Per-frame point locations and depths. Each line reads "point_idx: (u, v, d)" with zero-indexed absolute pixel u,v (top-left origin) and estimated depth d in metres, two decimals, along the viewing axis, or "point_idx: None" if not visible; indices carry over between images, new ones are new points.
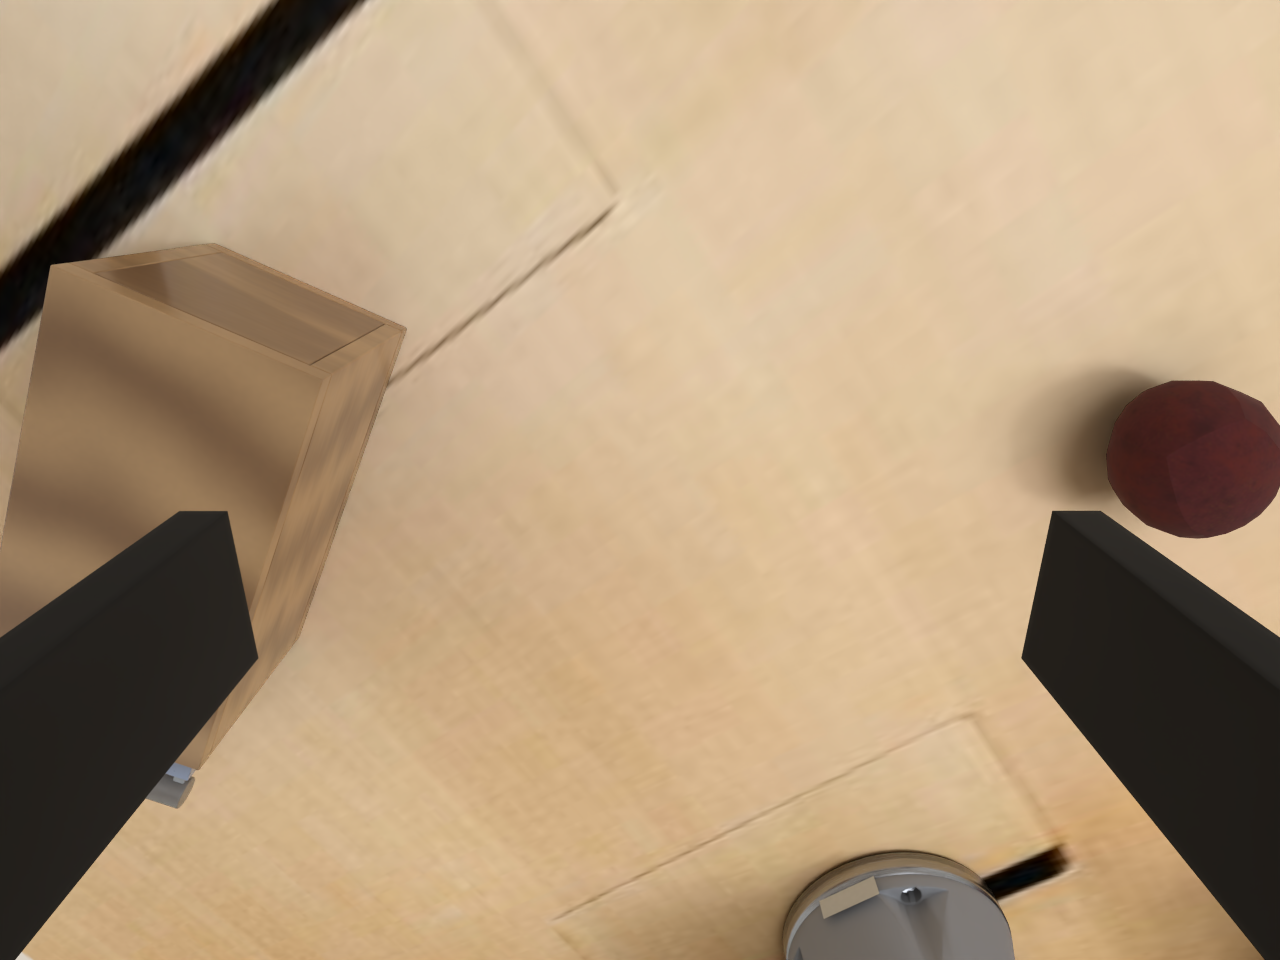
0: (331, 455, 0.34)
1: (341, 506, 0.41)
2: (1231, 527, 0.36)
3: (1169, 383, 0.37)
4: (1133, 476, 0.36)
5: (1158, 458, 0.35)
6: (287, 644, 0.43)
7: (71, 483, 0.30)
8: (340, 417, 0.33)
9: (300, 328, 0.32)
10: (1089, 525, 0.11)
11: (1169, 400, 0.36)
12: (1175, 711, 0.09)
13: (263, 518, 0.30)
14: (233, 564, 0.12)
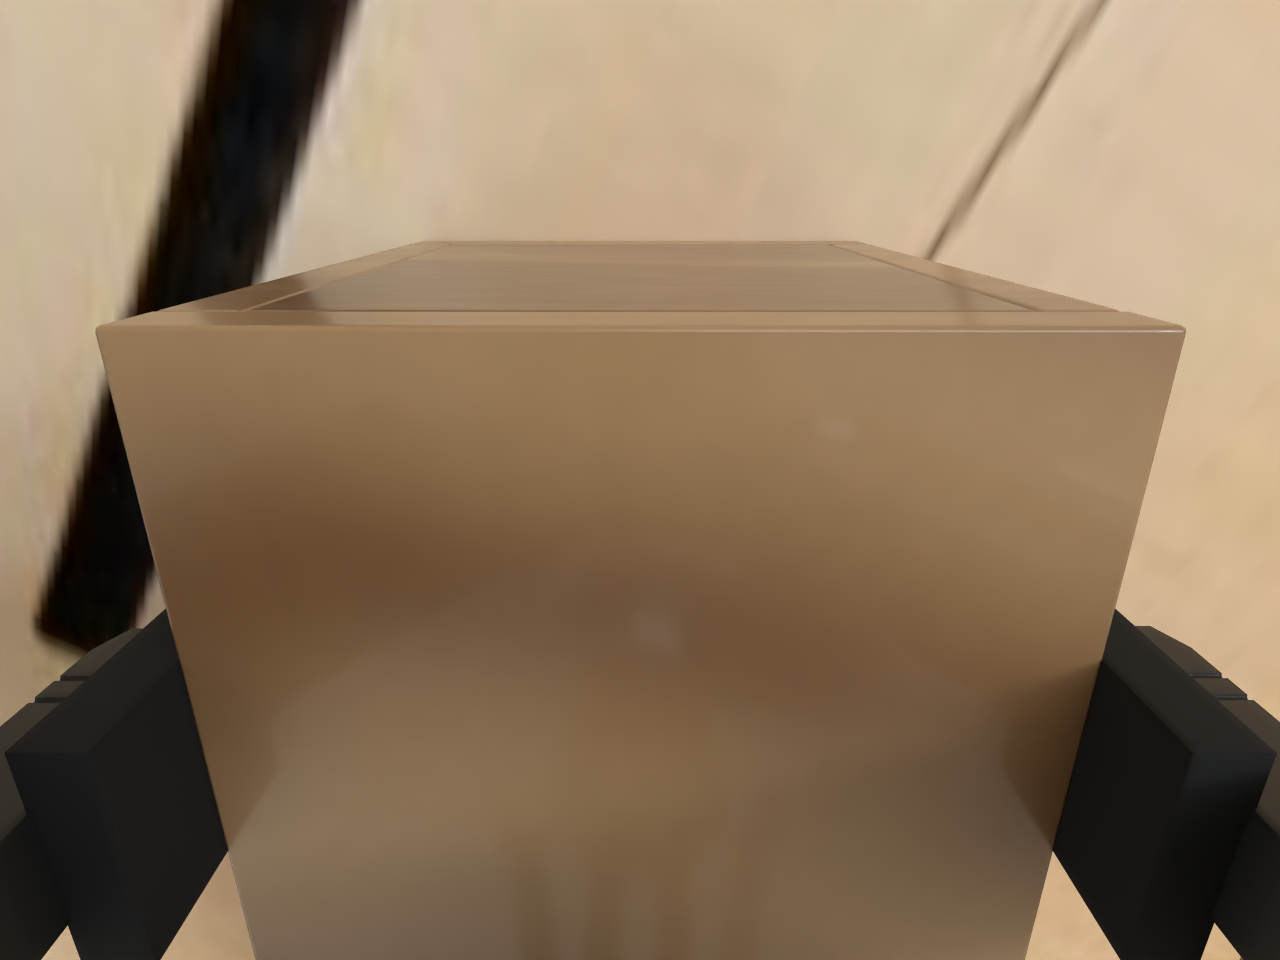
0: None
1: None
2: None
3: None
4: None
5: None
6: None
7: None
8: None
9: (795, 273, 0.11)
10: None
11: None
12: None
13: (1005, 864, 0.09)
14: None
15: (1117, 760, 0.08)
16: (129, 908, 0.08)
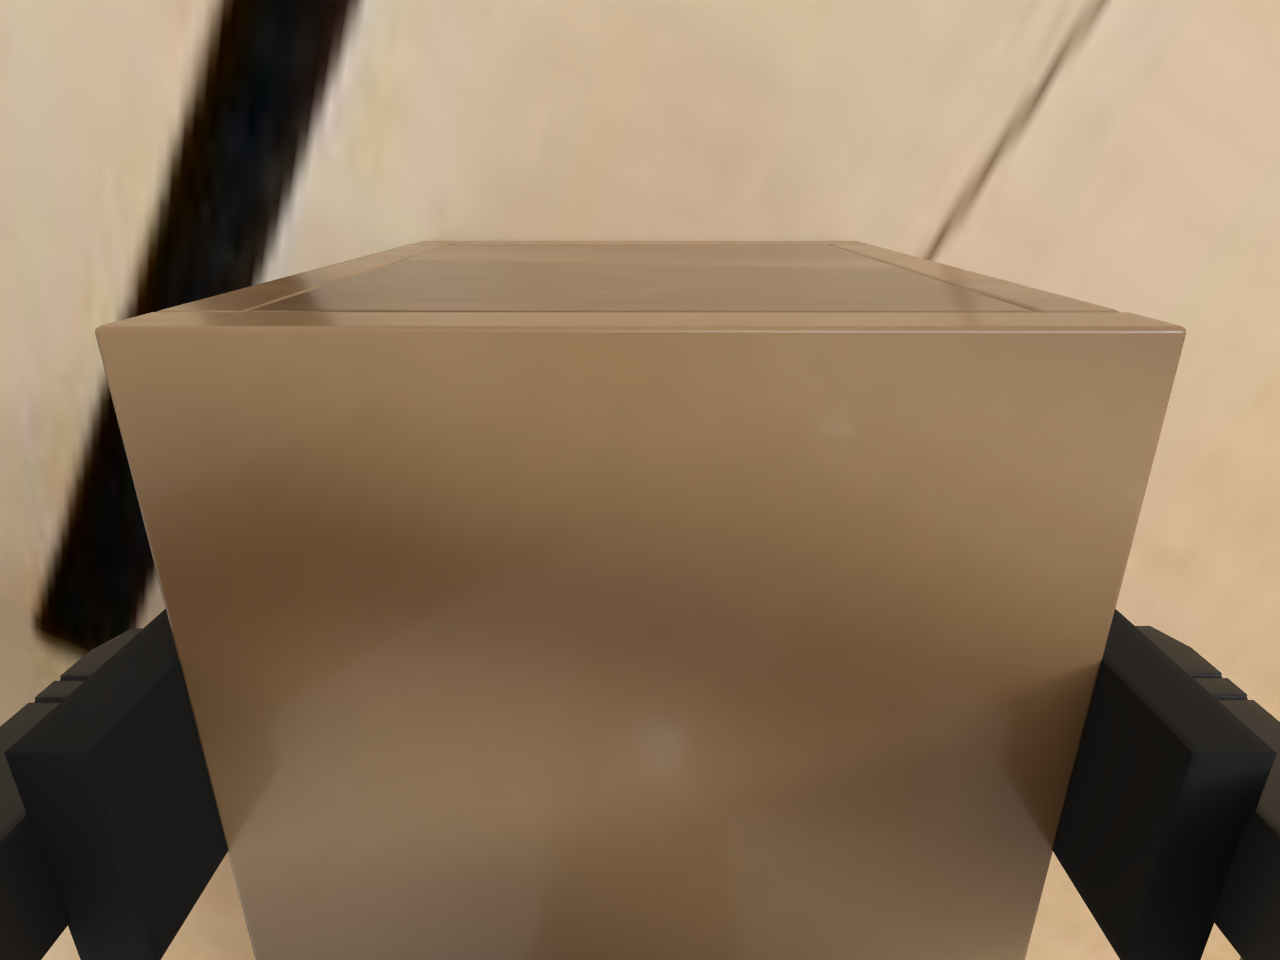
0: None
1: None
2: None
3: None
4: None
5: None
6: None
7: None
8: None
9: (794, 273, 0.11)
10: None
11: None
12: None
13: (1004, 865, 0.09)
14: None
15: (1117, 760, 0.08)
16: (129, 908, 0.08)
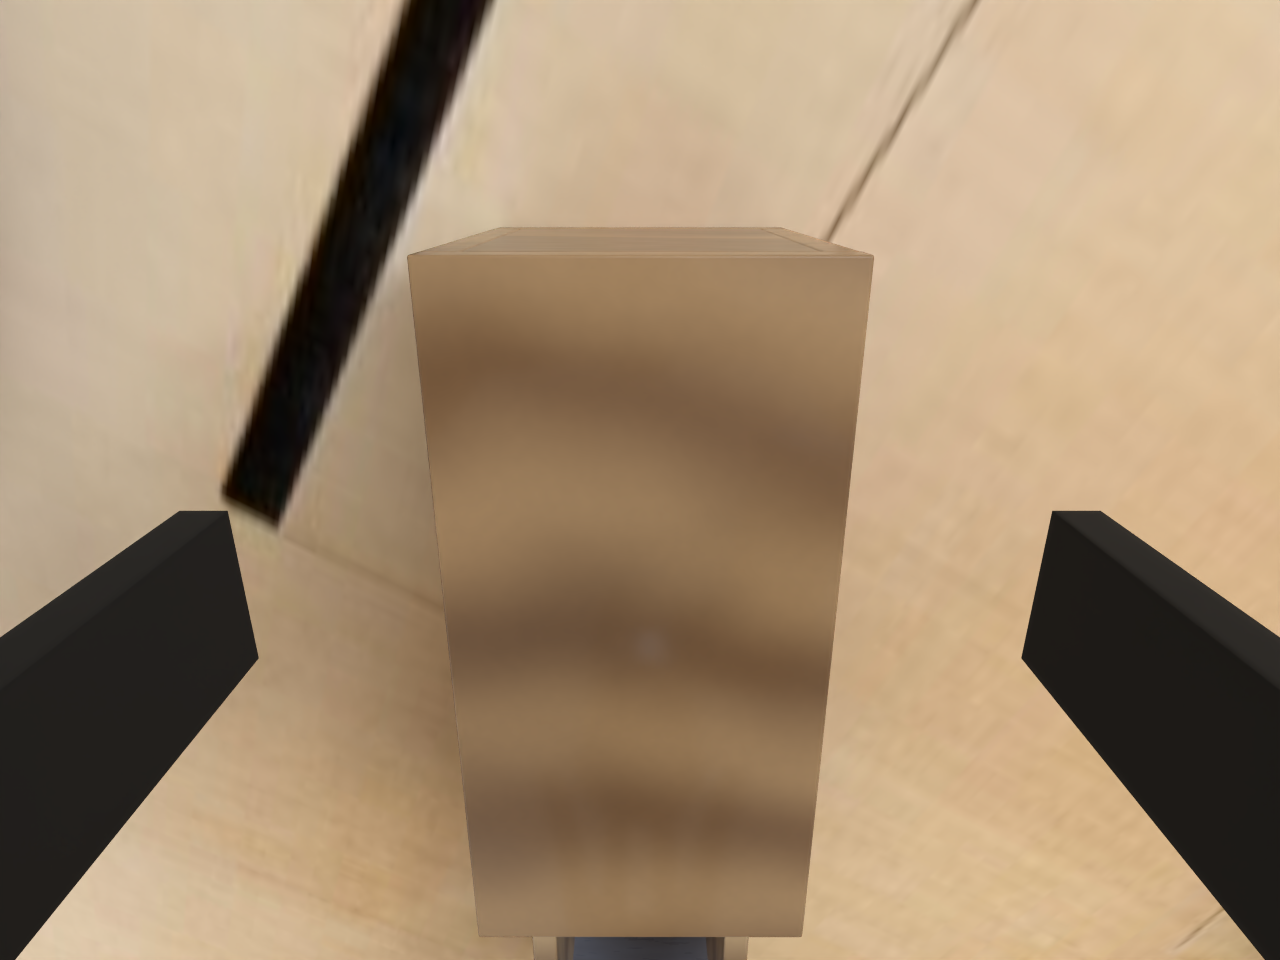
0: None
1: None
2: None
3: None
4: None
5: None
6: None
7: (528, 593, 0.19)
8: None
9: (724, 240, 0.20)
10: (1089, 525, 0.11)
11: None
12: (1175, 711, 0.09)
13: (822, 532, 0.18)
14: (233, 564, 0.12)
15: None
16: None
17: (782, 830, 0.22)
